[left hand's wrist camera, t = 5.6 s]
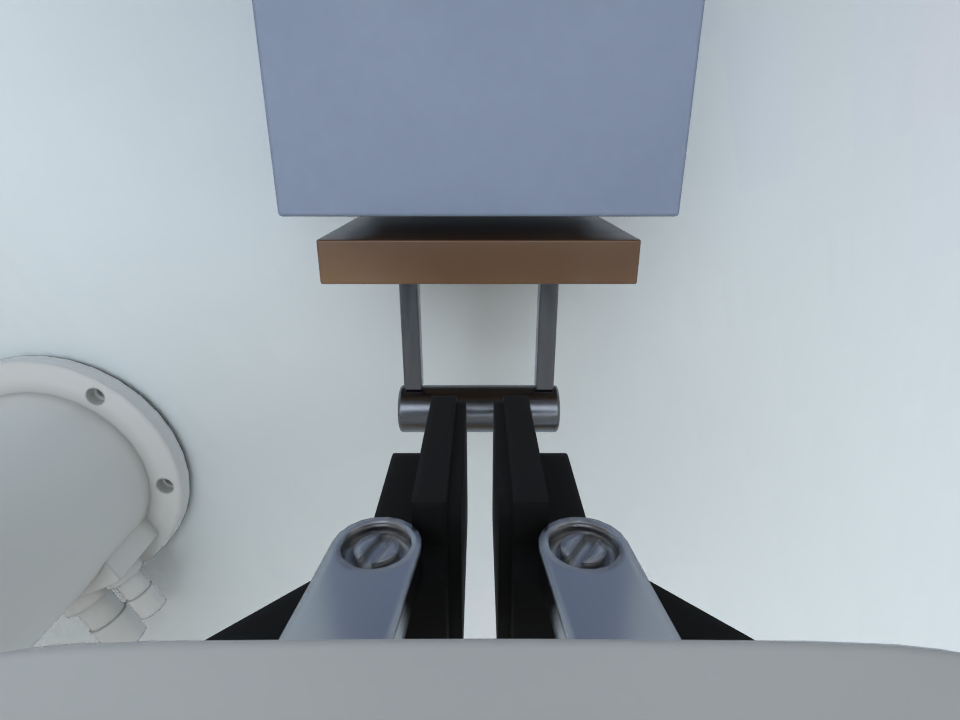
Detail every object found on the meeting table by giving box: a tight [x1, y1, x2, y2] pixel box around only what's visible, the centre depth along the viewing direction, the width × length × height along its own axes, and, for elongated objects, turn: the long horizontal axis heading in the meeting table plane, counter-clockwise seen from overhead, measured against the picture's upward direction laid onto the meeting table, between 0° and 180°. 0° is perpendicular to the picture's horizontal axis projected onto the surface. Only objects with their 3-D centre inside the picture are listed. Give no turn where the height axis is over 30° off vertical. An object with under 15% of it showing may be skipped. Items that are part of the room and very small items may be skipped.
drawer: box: [317, 216, 641, 432], centre depth 17 cm, size 25×9×10 cm, turn 0°
